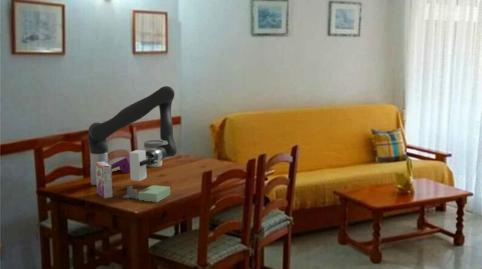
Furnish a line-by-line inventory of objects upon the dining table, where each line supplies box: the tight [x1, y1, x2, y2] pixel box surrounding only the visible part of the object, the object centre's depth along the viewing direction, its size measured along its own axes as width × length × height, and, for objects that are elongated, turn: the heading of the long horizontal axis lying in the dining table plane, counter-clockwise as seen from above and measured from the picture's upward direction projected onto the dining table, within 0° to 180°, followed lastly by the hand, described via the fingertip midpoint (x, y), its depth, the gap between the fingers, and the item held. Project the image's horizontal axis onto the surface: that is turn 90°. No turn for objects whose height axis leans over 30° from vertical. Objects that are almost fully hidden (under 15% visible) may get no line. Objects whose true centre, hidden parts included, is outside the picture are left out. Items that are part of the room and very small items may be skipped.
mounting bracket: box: [110, 155, 130, 174], centre depth 326 cm, size 10×8×18 cm
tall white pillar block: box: [129, 149, 147, 182], centre depth 269 cm, size 7×5×14 cm
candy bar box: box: [95, 162, 114, 200], centre depth 271 cm, size 11×5×16 cm, turn 33°
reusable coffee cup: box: [143, 139, 165, 168], centre depth 338 cm, size 13×12×15 cm
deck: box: [122, 184, 171, 203], centre depth 270 cm, size 14×19×4 cm
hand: (135, 163), depth 267 cm, fingers closed on tall white pillar block, 5 cm apart
